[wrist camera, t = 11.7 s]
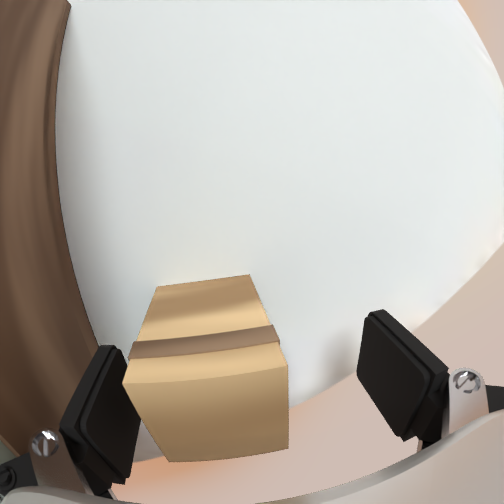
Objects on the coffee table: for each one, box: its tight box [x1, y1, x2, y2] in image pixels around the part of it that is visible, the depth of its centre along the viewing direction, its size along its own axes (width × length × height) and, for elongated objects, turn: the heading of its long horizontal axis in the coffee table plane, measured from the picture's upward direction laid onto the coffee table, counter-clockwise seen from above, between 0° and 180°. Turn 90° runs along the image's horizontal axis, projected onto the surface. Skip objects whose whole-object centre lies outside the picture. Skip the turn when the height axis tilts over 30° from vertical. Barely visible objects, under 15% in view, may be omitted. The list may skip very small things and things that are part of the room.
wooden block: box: [122, 274, 289, 462], centre depth 9 cm, size 4×4×6 cm
